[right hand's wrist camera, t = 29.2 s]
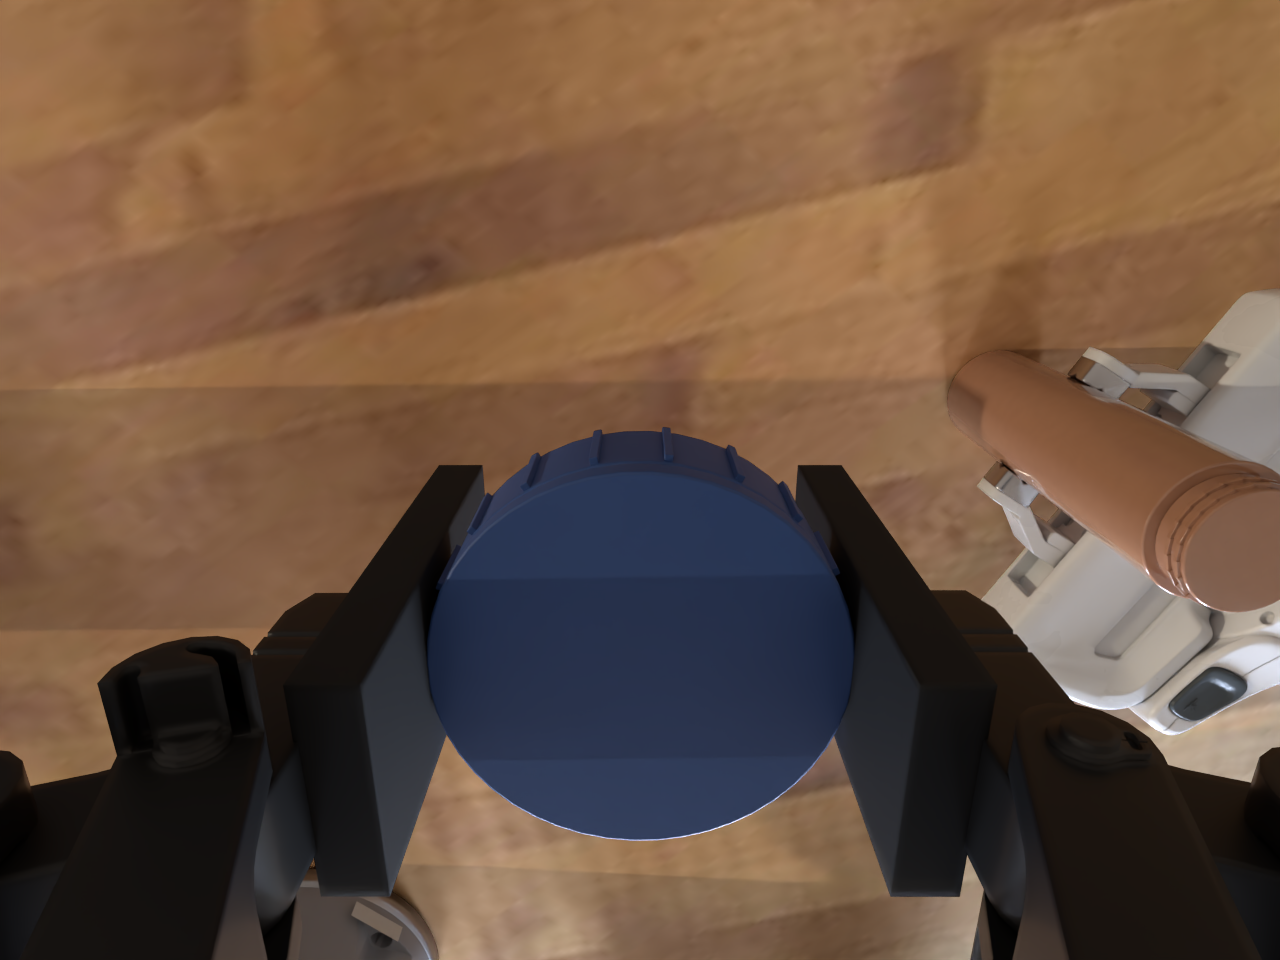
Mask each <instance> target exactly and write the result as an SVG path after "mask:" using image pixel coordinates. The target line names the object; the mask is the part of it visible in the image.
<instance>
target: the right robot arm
mask: <svg viewBox="0 0 1280 960" xmlns="http://www.w3.org/2000/svg"><path fill="white" fill-rule="evenodd" d="M484 496H485V493H484V479H483V465H439V466H438V467H437V469H436V470H435V472H434V473H433V475H432V476H431V477H430V479H429V480H428V482H427V483H426V484H425V486H424V487H423V489H422V490H421V491H420V493H419V494H418V496H417V497H416V498H415V500H414V501H413V503H412V504H411V505H410V507H409V508H408V510H407V511H406V513H405V514H404V515H403V517H402V518H401V520H400V521H399V522H398V524H397V525H396V527H395V528H394V529H393V531H392V532H391V534H390V535H389V536H388V538H387V539H386V541H385V542H384V544H383V545H382V546H381V548H380V549H379V551H378V552H377V553H376V555H375V556H374V558H373V559H372V560H371V562H370V563H369V565H368V566H367V567H366V569H365V570H364V572H363V573H362V575H361V576H360V577H359V579H358V580H357V582H356V583H355V584H354V586H353V587H352V589H351V590H350V591H349V593H315V594H313V595H311V596H310V597H308V598H306V599H305V600H303V601H302V602H300V603H298V604H297V605H295V606H293V607H292V608H290V609H289V610H287V611H285V613H284V614H283V615H282V616H281V617H280V619H279V620H278V621H277V622H276V623H275V625H274V626H273V627H272V628H271V630H270V631H269V632H268V637H264V638H263V639H262V640H261V642H260V643H259V644H258V645H257V646H256V648H255V649H254V650H253V655H251V653H250V649H249V648H248V647H246V646H245V645H244V644H242V643H241V642H240V641H238V640H235V639H230V638H225V637H220V636H207V637H190V638H185V639H181V640H176V641H171V642H167V643H162V644H160V645H157V646H155V647H152V648H149V649H147V650H144V651H141V652H139V653H136V654H134V655H132V656H131V657H129V658H128V659H126V660H124V661H123V662H121V663H119V664H118V665H116V666H114V667H113V668H111V669H110V671H109V672H108V673H107V674H106V675H105V676H104V677H103V678H102V679H101V680H100V681H99V682H98V683H97V684H98V687H99V691H100V695H101V698H102V702H103V706H104V709H105V713H106V717H107V720H108V724H109V728H110V731H111V735H112V739H113V742H114V746H115V750H116V753H117V757H116V759H115V762H114V764H113V766H112V768H111V769H109V770H105V771H102V772H98V773H93V774H88V775H83V776H79V777H74V778H69V779H64V780H59V781H54V782H49V783H44V784H39V785H34V786H30V783H29V780H28V777H27V774H26V771H25V768H24V765H23V761H22V760H20V759H19V758H18V757H16V756H15V755H14V754H12V753H11V752H9V751H0V960H439V958H438V950H437V946H436V943H435V940H434V937H433V935H432V933H431V931H430V929H429V927H428V926H427V924H426V923H425V921H424V920H423V919H422V917H421V916H420V915H419V914H418V913H417V912H416V911H415V910H414V908H413V907H412V906H410V905H409V904H408V903H407V902H406V901H405V900H403V899H402V898H401V897H399V896H398V895H396V894H395V893H393V892H392V889H393V886H394V884H395V881H396V878H397V875H398V872H399V869H400V866H401V864H402V861H403V858H404V855H405V852H406V849H407V846H408V844H409V841H410V838H411V835H412V832H413V829H414V826H415V824H416V821H417V818H418V815H419V812H420V809H421V806H422V804H423V801H424V798H425V795H426V792H427V789H428V786H429V784H430V781H431V778H432V775H433V772H434V769H435V766H436V764H437V761H438V758H439V755H440V752H441V749H442V746H443V744H444V741H445V738H446V735H447V734H446V732H445V730H444V728H443V725H442V723H441V721H440V719H439V716H438V714H437V712H436V709H435V705H434V702H433V698H432V695H431V691H430V685H429V676H428V666H427V636H428V631H429V625H430V620H431V614H432V612H433V609H434V606H435V603H436V600H437V597H438V594H439V591H440V590H437V589H436V586H437V583H438V581H439V579H440V577H441V575H442V573H443V571H444V569H445V567H446V565H447V563H448V561H449V559H450V557H451V555H452V553H453V551H454V549H455V547H456V545H460V546H462V544H463V542H464V540H465V538H466V536H467V534H468V532H467V530H468V528H469V526H470V524H471V522H472V520H473V518H474V516H475V514H476V512H477V510H478V508H479V506H480V504H481V502H482V500H483V498H484ZM795 502H796V504H797V506H798V508H799V509H800V510H801V512H802V514H803V515H804V517H805V519H806V521H807V522H808V524H809V526H810V527H811V529H812V531H813V533H814V532H816V531H819V532H820V534H821V536H822V538H823V540H824V542H825V544H826V546H827V548H828V550H829V552H830V553H831V555H832V557H833V559H834V561H835V563H836V565H837V567H838V569H839V571H840V574H838V575H836V576H835V577H836V579H837V581H838V583H839V586H840V588H841V591H842V593H843V596H844V598H845V601H846V603H847V606H848V609H849V613H850V618H851V622H852V627H853V631H854V643H855V652H854V663H853V672H852V682H851V690H850V696H849V701H848V705H847V707H846V710H845V712H844V715H843V717H842V720H841V722H840V725H839V727H838V729H837V731H836V733H835V734H834V736H835V739H836V742H837V745H838V748H839V751H840V754H841V756H842V759H843V762H844V765H845V768H846V771H847V774H848V776H849V779H850V782H851V785H852V788H853V791H854V794H855V796H856V799H857V802H858V805H859V808H860V811H861V814H862V816H863V819H864V822H865V825H866V828H867V831H868V834H869V836H870V839H871V842H872V845H873V848H874V851H875V854H876V856H877V859H878V862H879V865H880V868H881V871H882V874H883V876H884V879H885V882H886V885H887V888H888V891H889V894H890V896H891V897H960V892H961V886H962V881H963V875H964V870H965V864H966V859H967V855H968V857H969V859H970V861H971V863H972V866H973V868H974V870H975V872H976V874H977V876H978V878H979V880H980V882H981V884H982V886H983V888H984V892H983V897H982V902H981V908H980V913H979V918H978V923H977V928H976V933H975V939H974V944H973V949H972V954H971V959H970V960H1280V747H1276V748H1271V749H1270V750H1269V751H1267V752H1266V753H1265V754H1263V755H1262V756H1261V757H1259V761H1258V764H1257V767H1256V770H1255V773H1254V776H1253V779H1252V782H1251V783H1249V782H1245V781H1240V780H1235V779H1230V778H1225V777H1220V776H1215V775H1210V774H1205V773H1200V772H1195V771H1190V770H1185V769H1181V768H1178V767H1174V766H1170V765H1168V764H1167V762H1166V760H1165V758H1164V756H1163V754H1162V753H1161V752H1160V750H1159V749H1158V748H1157V747H1156V745H1155V744H1154V743H1153V742H1152V740H1151V739H1150V738H1149V737H1148V736H1146V735H1145V734H1143V733H1142V732H1141V731H1139V730H1138V729H1136V728H1135V727H1133V726H1132V725H1131V724H1129V723H1128V722H1126V721H1123V720H1121V719H1119V718H1117V717H1114V716H1112V715H1110V714H1108V713H1105V712H1103V711H1100V710H1096V709H1092V708H1088V707H1084V706H1080V705H1076V704H1074V702H1073V701H1072V700H1071V699H1070V698H1069V696H1068V695H1067V694H1066V693H1065V692H1064V690H1063V689H1062V688H1061V687H1060V686H1059V684H1058V683H1057V682H1056V681H1055V680H1054V678H1053V677H1052V676H1051V675H1050V674H1049V672H1048V671H1047V670H1046V669H1045V668H1044V666H1043V665H1042V664H1041V663H1040V662H1039V660H1038V659H1037V658H1036V657H1035V656H1034V654H1033V653H1032V652H1028V647H1027V646H1026V645H1025V644H1024V642H1023V641H1022V640H1021V639H1020V638H1019V636H1018V635H1017V634H1013V629H1012V628H1011V627H1010V626H1009V624H1008V623H1007V622H1006V621H1005V619H1004V618H1003V617H1002V616H1001V615H1000V613H999V612H998V611H997V610H996V609H995V608H994V607H992V606H990V605H989V604H987V603H985V602H984V601H982V600H980V599H979V598H977V597H976V596H974V595H972V594H971V593H969V592H967V591H966V590H930V589H929V588H928V586H927V585H926V584H925V582H924V581H923V579H922V578H921V577H920V575H919V574H918V572H917V571H916V570H915V568H914V567H913V565H912V564H911V562H910V561H909V560H908V558H907V557H906V555H905V554H904V553H903V551H902V550H901V548H900V547H899V546H898V544H897V543H896V541H895V540H894V539H893V537H892V536H891V534H890V533H889V532H888V530H887V529H886V527H885V526H884V524H883V523H882V522H881V520H880V519H879V517H878V516H877V515H876V513H875V512H874V510H873V509H872V508H871V506H870V505H869V503H868V502H867V501H866V499H865V498H864V496H863V495H862V494H861V492H860V491H859V489H858V488H857V486H856V485H855V484H854V482H853V481H852V479H851V478H850V477H849V475H848V474H847V472H846V471H845V470H844V468H843V467H842V465H798V472H797V486H796V500H795ZM313 858H314V861H315V867H316V869H309V867H310V865H311V862H312V860H313Z"/></svg>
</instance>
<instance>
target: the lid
mask: <svg viewBox="0 0 1280 960" xmlns="http://www.w3.org/2000/svg"><path fill="white" fill-rule="evenodd" d="M467 532H468V534H467V536H466V538H465V540H464V542H463V544H462V546H460V545H456V547H455V549H454V551H453V553H452V555H451V557H450V559H449V561H448V563H447V565H446V567H445V569H444V571H443V573H442V575H441V577H440V579H439V581H438V583H437V586H436V589H437V590H440V591H439V594H438V597H437V600H436V603H435V606H434V609H433V612H432V614H431V620H430V625H429V631H428V636H427V666H428V676H429V685H430V691H431V695H432V698H433V702H434V705H435V709H436V712H437V714H438V716H439V719H440V721H441V723H442V725H443V728H444V730H445V732H446V734H447V736H448V737H449V739H450V740H451V742H452V744H453V745H454V747H455V748H456V750H457V752H458V753H459V755H460V756H461V757H462V758H463V759H464V761H465V762H466V763H467V764H468V765H469V767H470V768H471V769H472V770H473V771H474V773H475V774H476V775H478V776H479V777H480V778H481V779H482V780H483V781H484V782H485V783H486V784H487V785H488V786H489V787H490V788H491V789H493V790H494V791H495V792H497V793H498V794H499V795H501V796H502V797H504V798H505V799H506V800H508V801H509V802H510V803H512V804H513V805H515V806H517V807H519V808H520V809H522V810H524V811H526V812H527V813H529V814H531V815H533V816H535V817H537V818H539V819H542V820H544V821H546V822H549V823H551V824H553V825H556V826H559V827H562V828H565V829H568V830H572V831H575V832H578V833H582V834H587V835H592V836H597V837H602V838H609V839H621V840H662V839H671V838H679V837H685V836H690V835H694V834H698V833H703V832H707V831H710V830H713V829H716V828H719V827H722V826H725V825H728V824H731V823H733V822H735V821H737V820H740V819H742V818H744V817H746V816H748V815H750V814H752V813H754V812H756V811H758V810H759V809H761V808H763V807H764V806H766V805H768V804H769V803H771V802H772V801H774V800H776V799H777V798H778V797H779V796H781V795H782V794H783V793H785V792H786V791H787V790H788V789H790V788H791V787H792V786H793V785H795V784H796V783H797V782H798V781H799V780H800V779H801V778H802V777H803V776H804V775H805V774H806V773H807V772H808V771H809V770H810V769H811V768H812V766H813V765H814V764H815V763H816V761H817V760H818V759H819V757H820V756H821V755H822V753H823V752H824V751H825V750H826V748H827V746H828V745H829V743H830V741H831V740H832V738H833V736H834V734H835V733H836V731H837V729H838V727H839V725H840V722H841V720H842V717H843V715H844V712H845V710H846V707H847V705H848V701H849V696H850V690H851V682H852V672H853V663H854V652H855V643H854V631H853V627H852V622H851V618H850V613H849V609H848V606H847V603H846V601H845V598H844V596H843V593H842V591H841V588H840V586H839V583H838V581H837V579H836V577H835V576H836V575H838V574H840V571H839V569H838V567H837V565H836V563H835V561H834V559H833V557H832V555H831V553H830V552H829V550H828V548H827V546H826V544H825V542H824V540H823V538H822V536H821V534H820V532H819V531H816V532H814V533H813V531H812V529H811V527H810V526H809V524H808V522H807V521H806V519H805V517H804V515H803V514H802V512H801V510H800V509H799V508H798V506H797V504H796V502H795V500H794V498H793V496H792V494H791V492H790V490H789V488H788V486H787V485H786V484H785V483H784V482H783V481H782V482H781V483H780V484H779V485H778V484H777V483H776V482H775V481H774V480H773V479H772V478H771V477H770V476H768V475H767V474H766V473H764V472H763V471H762V470H760V469H759V468H757V467H756V466H755V465H753V464H752V463H750V462H749V461H747V460H745V459H744V458H742V457H740V456H738V455H737V452H736V449H735V447H732V446H730V445H728V446H727V448H726V449H724V448H722V447H719V446H717V445H714V444H711V443H709V442H706V441H703V440H700V439H696V438H692V437H687V436H683V435H679V434H673V433H671V430H670V428H666V427H663V428H662V432H654V431H626V432H617V433H610V434H602V430H597V431H594V433H593V437H590V438H586V439H582V440H579V441H575V442H572V443H570V444H567V445H565V446H562V447H560V448H558V449H555V450H553V451H551V452H548V453H547V454H545V455H543V456H540V455H539V453H536V454H534V455H532V456H531V459H530V461H529V464H528V465H526V466H525V467H524V468H522V469H521V470H520V471H519V472H517V473H516V474H515V475H514V476H512V477H511V478H510V479H508V480H507V481H506V482H505V483H504V484H503V485H502V486H501V487H500V488H499V489H498V490H497V492H496V493H495V494H494V495H493V496H492V495H490V494H489V493H487V494H486V495H485V496H484V498H483V500H482V502H481V504H480V506H479V508H478V510H477V512H476V514H475V516H474V518H473V520H472V522H471V524H470V526H469V528H468V530H467Z"/></svg>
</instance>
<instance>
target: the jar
mask: <svg viewBox="0 0 1280 960" xmlns="http://www.w3.org/2000/svg"><path fill="white" fill-rule="evenodd" d="M947 406H948V412H949V416H950V418H951V420H952V422H953V424H954V425H955V426H956V428H957V429H958V430H959V431H960V432H961V433H963V434H964V435H965V436H967V437H968V438H969V439H970V440H972V441H973V442H974V443H975V444H977V445H978V446H979V447H981V448H982V449H983V450H984V451H986V452H987V453H988V454H990V455H991V456H992V457H993V458H995V459H996V460H997V461H999V462H1000V463H1001V464H1003V465H1004V466H1005V467H1007V468H1008V469H1009V470H1010V471H1012V472H1013V473H1014V474H1016V475H1017V476H1018V477H1019V478H1020V479H1022V480H1023V481H1024V482H1025V483H1027V484H1028V485H1029V486H1031V487H1032V488H1033V489H1034V490H1036V491H1037V492H1038V493H1039V494H1041V495H1042V496H1043V497H1045V498H1046V499H1047V500H1048V501H1050V502H1051V503H1052V504H1054V505H1055V506H1056V507H1057V508H1059V509H1060V510H1061V511H1063V512H1064V513H1065V514H1066V515H1068V516H1069V517H1070V518H1071V519H1073V520H1074V521H1075V522H1077V523H1078V524H1079V525H1080V526H1082V527H1083V528H1084V529H1086V530H1087V531H1088V532H1089V533H1091V534H1092V535H1093V536H1094V537H1096V538H1097V539H1098V540H1100V541H1101V542H1102V543H1103V544H1105V545H1106V546H1107V547H1109V548H1110V549H1111V550H1112V551H1114V552H1115V553H1116V554H1118V555H1119V556H1120V557H1121V558H1123V559H1124V560H1125V561H1126V562H1128V563H1129V564H1130V565H1132V566H1133V567H1134V568H1135V569H1137V570H1138V571H1139V572H1141V573H1142V574H1143V575H1144V576H1146V577H1147V578H1148V579H1150V580H1151V581H1152V582H1153V583H1155V584H1156V585H1157V586H1158V587H1160V588H1161V589H1163V590H1164V591H1166V592H1168V593H1170V594H1172V595H1175V596H1178V597H1181V598H1186V599H1191V600H1193V601H1195V602H1196V603H1198V604H1200V605H1204V606H1207V607H1209V608H1212V609H1215V610H1218V611H1224V612H1236V613H1238V612H1248V611H1253V610H1257V609H1260V608H1264V607H1266V606H1269V605H1271V604H1273V603H1275V602H1277V601H1279V600H1280V475H1279V474H1278V473H1277V472H1275V471H1274V470H1273V469H1271V468H1269V467H1267V466H1265V465H1262V464H1260V463H1258V462H1256V461H1254V460H1251V459H1249V458H1247V457H1245V456H1243V455H1240V454H1238V453H1236V452H1234V451H1232V450H1229V449H1227V448H1225V447H1223V446H1221V445H1218V444H1216V443H1214V442H1212V441H1210V440H1207V439H1205V438H1203V437H1201V436H1199V435H1196V434H1194V433H1192V432H1190V431H1188V430H1185V429H1183V428H1181V427H1179V426H1177V425H1174V424H1172V423H1170V422H1168V421H1166V420H1163V419H1161V418H1159V417H1157V416H1155V415H1152V414H1150V413H1148V412H1146V411H1144V410H1141V409H1139V408H1137V407H1135V406H1133V405H1130V404H1128V403H1126V402H1124V401H1122V400H1119V399H1117V398H1115V397H1113V396H1111V395H1108V394H1106V393H1104V392H1102V391H1100V390H1097V389H1095V388H1093V387H1091V386H1089V385H1086V384H1084V383H1082V382H1080V381H1078V380H1075V379H1073V378H1071V377H1069V376H1067V375H1065V374H1062V373H1060V372H1058V371H1056V370H1054V369H1051V368H1049V367H1047V366H1045V365H1043V364H1040V363H1038V362H1036V361H1034V360H1032V359H1029V358H1027V357H1025V356H1023V355H1021V354H1018V353H1015V352H1012V351H1006V350H998V351H991V352H987V353H984V354H981V355H979V356H977V357H975V358H974V359H972V360H971V361H969V362H968V363H967V364H965V365H964V366H963V367H962V368H961V369H960V371H959V372H958V373H957V375H956V376H955V378H954V379H953V381H952V384H951V386H950V389H949V392H948V399H947Z"/></svg>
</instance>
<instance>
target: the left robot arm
mask: <svg viewBox="0 0 1280 960" xmlns="http://www.w3.org/2000/svg"><path fill="white" fill-rule="evenodd" d="M1068 376H1070V377H1071V378H1073V379H1075V380H1078V381H1080V382H1082V383H1084V384H1086V385H1089V386H1091V387H1093V388H1095V389H1097V390H1100V391H1102V392H1104V393H1106V394H1108V395H1111V396H1113V397H1115V398H1117V399H1118V398H1119V397H1120V396H1121V395H1122V394H1123V393H1124V392H1125V391H1126V389H1127V388H1128V387H1129V388H1140V391H1141V392H1142V393H1143V394H1145V395H1146V396H1148V397H1149V398H1150V399H1152V400H1151V401H1150V403H1149V404H1148V405H1147V406H1146V407H1145V408H1144V411H1146V412H1148V413H1150V414H1152V415H1155V416H1157V417H1159V418H1161V419H1163V420H1166V421H1168V422H1170V423H1172V424H1174V425H1177V426H1179V427H1181V428H1183V429H1185V430H1188V431H1190V432H1192V433H1194V434H1196V435H1199V436H1201V437H1203V438H1205V439H1207V440H1210V441H1212V442H1214V443H1216V444H1218V445H1221V446H1223V447H1225V448H1227V449H1229V450H1232V451H1234V452H1236V453H1238V454H1240V455H1243V456H1245V457H1247V458H1249V459H1251V460H1254V461H1256V462H1258V463H1260V464H1262V465H1265V466H1267V467H1269V468H1271V469H1273V470H1274V471H1275V472H1277V473H1278V474H1279V475H1280V288H1275V289H1265V290H1258V291H1252V292H1248V293H1245V294H1244V295H1242V296H1241V297H1240V298H1239V299H1238V300H1237V301H1236V302H1235V303H1234V304H1233V305H1232V307H1231V308H1230V309H1229V310H1228V311H1227V313H1226V314H1225V315H1224V316H1223V317H1222V318H1221V320H1220V321H1219V322H1218V323H1217V324H1216V325H1215V327H1214V328H1213V329H1212V330H1211V331H1210V332H1209V334H1208V335H1207V336H1206V337H1205V338H1204V339H1203V341H1202V342H1201V343H1200V344H1199V345H1198V346H1197V348H1196V349H1195V350H1194V351H1193V352H1192V353H1191V355H1190V356H1189V357H1188V358H1187V359H1186V360H1185V362H1184V363H1183V364H1182V365H1181V366H1180V367H1179V369H1178V370H1175V369H1172V368H1170V367H1167V366H1164V365H1161V364H1127V363H1122V362H1120V361H1119V360H1117V359H1116V358H1114V357H1113V356H1111V355H1109V354H1107V353H1105V352H1103V351H1101V350H1098V349H1095V348H1093V347H1089V348H1088V349H1087V350H1086V352H1085V353H1084V354H1083V355H1082V357H1081V358H1080V359H1079V360H1078V362H1077V363H1076V364H1075V365H1074V367H1073V368H1072V369H1071V370H1070V371H1069V373H1068ZM977 487H978V488H979V489H980V490H982V491H983V492H984V493H985V494H986V495H987V496H989V497H990V498H991V499H993V500H994V501H995V502H997V503H999V504H1000V505H1002V507H1003V509H1004V512H1005V514H1006V517H1007V519H1008V522H1009V524H1010V527H1011V529H1012V532H1013V534H1014V536H1015V537H1016V538H1017V539H1018V540H1019V541H1020V542H1021V543H1022V544H1023V545H1024V546H1025V547H1026V548H1025V549H1024V550H1023V551H1022V552H1021V553H1020V555H1019V556H1018V557H1017V558H1016V559H1015V560H1014V562H1013V563H1012V564H1011V565H1010V566H1009V567H1008V569H1007V570H1006V571H1005V572H1004V573H1003V574H1002V576H1001V577H1000V578H999V579H998V580H997V581H996V583H995V584H994V585H993V586H992V587H991V588H990V590H989V591H988V592H987V593H986V594H985V595H984V597H983V598H982V599H981V600H982V601H984V602H985V603H987V604H989V605H990V606H992V607H994V608H995V609H996V610H997V611H998V612H999V613H1000V615H1001V616H1002V617H1003V618H1004V619H1005V621H1006V622H1007V623H1008V624H1009V626H1010V627H1011V628H1012V629H1013V634H1017V635H1018V636H1019V638H1020V639H1021V640H1022V641H1023V642H1024V644H1025V645H1026V646H1027V647H1028V652H1032V653H1033V654H1034V656H1035V657H1036V658H1037V659H1038V660H1039V662H1040V663H1041V664H1042V665H1043V666H1044V668H1045V669H1046V670H1047V671H1048V672H1049V674H1050V675H1051V676H1052V677H1053V678H1054V680H1055V681H1056V682H1057V683H1058V684H1059V686H1060V687H1061V688H1062V689H1063V690H1064V692H1065V693H1066V694H1067V695H1068V696H1069V698H1070V699H1071V700H1073V701H1075V702H1078V703H1081V704H1083V705H1086V706H1090V707H1093V708H1098V709H1105V710H1117V709H1123V708H1127V707H1128V708H1130V709H1131V710H1132V711H1133V712H1134V713H1135V714H1136V715H1138V716H1139V717H1140V718H1141V719H1143V720H1144V721H1145V722H1147V723H1148V724H1149V725H1150V726H1152V727H1153V728H1155V729H1156V730H1158V731H1159V732H1161V733H1164V734H1167V735H1176V734H1180V733H1183V732H1185V731H1187V730H1189V729H1191V728H1193V727H1194V726H1196V725H1198V724H1200V723H1201V722H1203V721H1205V720H1206V719H1208V718H1210V717H1212V716H1213V715H1215V714H1217V713H1219V712H1220V711H1222V710H1224V709H1226V708H1228V707H1230V706H1231V705H1233V704H1235V703H1237V702H1239V701H1241V700H1243V699H1245V698H1247V697H1249V696H1251V695H1254V694H1256V693H1258V692H1260V691H1263V690H1265V689H1267V688H1270V687H1272V686H1275V685H1278V684H1279V685H1280V600H1279V601H1277V602H1275V603H1273V604H1271V605H1269V606H1266V607H1264V608H1260V609H1257V610H1253V611H1248V612H1238V613H1236V612H1224V611H1218V610H1215V609H1212V608H1209V607H1207V606H1204V605H1200V604H1198V603H1196V602H1195V601H1193V600H1191V599H1186V598H1181V597H1178V596H1175V595H1172V594H1170V593H1168V592H1166V591H1164V590H1163V589H1161V588H1160V587H1158V586H1157V585H1156V584H1155V583H1153V582H1152V581H1151V580H1150V579H1148V578H1147V577H1146V576H1144V575H1143V574H1142V573H1141V572H1139V571H1138V570H1137V569H1135V568H1134V567H1133V566H1132V565H1130V564H1129V563H1128V562H1126V561H1125V560H1124V559H1123V558H1121V557H1120V556H1119V555H1118V554H1116V553H1115V552H1114V551H1112V550H1111V549H1110V548H1109V547H1107V546H1106V545H1105V544H1103V543H1102V542H1101V541H1100V540H1098V539H1097V538H1096V537H1094V536H1093V535H1092V534H1091V533H1089V532H1088V531H1087V530H1086V529H1084V528H1083V527H1082V526H1080V525H1079V524H1078V523H1077V522H1075V521H1074V520H1073V519H1071V518H1070V517H1069V516H1068V515H1066V514H1065V513H1064V512H1063V511H1061V510H1060V509H1058V510H1057V511H1056V512H1055V514H1054V515H1053V516H1052V517H1051V518H1050V519H1049V521H1048V522H1046V521H1045V520H1043V519H1041V518H1040V517H1038V516H1036V515H1033V512H1032V510H1031V508H1030V506H1029V505H1030V504H1031V502H1032V501H1033V500H1034V499H1035V497H1036V496H1037V495H1038V494H1039V493H1038V492H1037V491H1036V490H1034V489H1033V488H1032V487H1031V486H1029V485H1028V484H1027V483H1025V482H1024V481H1023V480H1022V479H1020V478H1019V477H1018V476H1017V475H1016V474H1014V473H1013V472H1012V471H1010V470H1009V469H1008V468H1007V467H1005V466H1004V465H1003V464H1001V463H1000V462H998V461H997V462H996V463H995V464H994V465H993V467H992V468H991V469H990V470H989V471H988V472H987V474H986V475H985V476H984V478H983V479H982V480H981V481H980V482H979V484H978V485H977Z"/></svg>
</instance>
